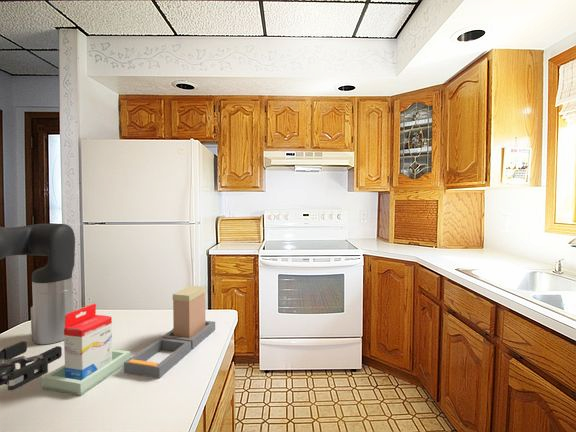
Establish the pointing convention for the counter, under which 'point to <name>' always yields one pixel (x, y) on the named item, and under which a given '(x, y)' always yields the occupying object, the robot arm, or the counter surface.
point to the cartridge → (189, 311)
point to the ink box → (86, 342)
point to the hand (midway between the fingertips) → (42, 348)
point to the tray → (79, 387)
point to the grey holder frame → (167, 342)
